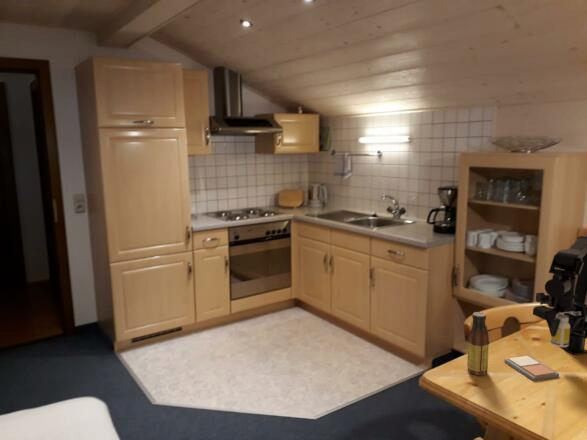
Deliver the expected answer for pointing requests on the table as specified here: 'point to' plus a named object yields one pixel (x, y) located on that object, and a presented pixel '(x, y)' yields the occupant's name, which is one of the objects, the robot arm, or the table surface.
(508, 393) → the table surface
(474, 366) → the sauce bottle
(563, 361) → the table surface
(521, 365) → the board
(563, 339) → the supplement bottle
